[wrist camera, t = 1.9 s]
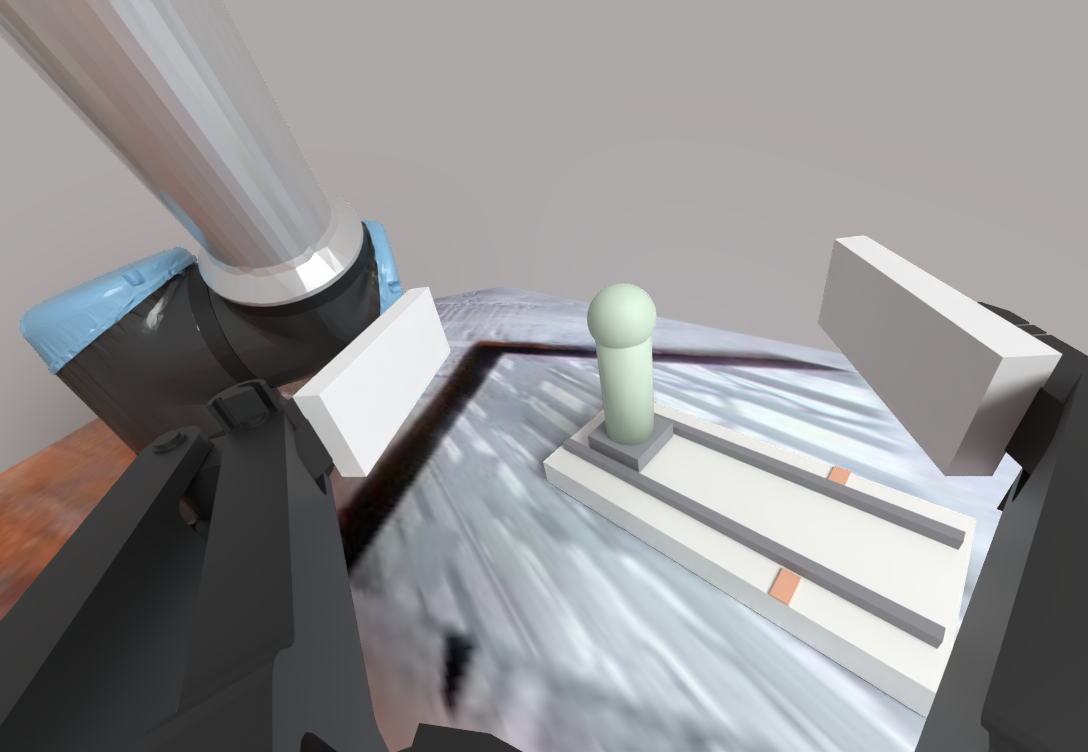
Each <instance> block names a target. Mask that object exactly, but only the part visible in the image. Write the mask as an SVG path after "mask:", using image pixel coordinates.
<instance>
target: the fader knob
mask: <svg viewBox="0 0 1088 752" xmlns="http://www.w3.org/2000/svg"><path fill="white" fill-rule="evenodd" d="M656 317H657V316H656V309H655V306H654V303H653V301H652V299H651V298H650V296H649V295H648V294H647V293H646V292H645V291H644V290H642V289H641V288H639V287H637V286H635V285H632V284H626V283H619V284H614V285H611V286H608V287H606V288H605V289H603V290H602V291H600V292H599V293H598V294H597V295H596V296H595V298H594V299H593V300H592V302H591V304H590V306H589V310H588V314H587V322H588V328H589V331H590V333H591V335H592V337H593V338H594V339H595V342H596V350H597V358H598V366H599V375H600V383H601V391H602V399H603V408H604V416H605V420H604V421H603V422H602V423H601V424H600V425H599V426H598V427H597V428H595V429H594V430H593V431H592V432H591V433H590V434H589V435H588V440H589V447H590V448H591V449H593V450H595V451H597V452H599V453H601V454H603V455H605V456H607V457H609V458H611V459H613V460H615V461H617V462H619V463H621V464H623V465H625V466H627V467H629V468H631V469H633V470H634V471H636V472H638V473H640V472H641V471H642V469H643V468H644V467H645V466H646V465H647V464H648V463H649V462H650V461H651V460H652V458H653V457H654V456H655V455H656V454H657V453H658V452H659V451H660V450H661V449H662V447H663V446H664V445H665V444H666V443H667V442H668V441H669V440H670V439H671V438H672V436H673V422H671V421H669V420H666V419H663V418H661V417H658V416H656V415H654V397H653V370H652V343H651V335H652V333H653V331H654V328H655V325H656Z"/></svg>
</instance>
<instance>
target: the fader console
mask: <svg viewBox="0 0 1088 752" xmlns="http://www.w3.org/2000/svg"><path fill="white" fill-rule="evenodd" d="M654 415H656V416H658V417H661V418H663V419H666V420H669V421H671V422H673V436H672V438H671V439H670V440H669V441H668V442H667V443H666V444H665V445H664V446H663V447H662V449H661V450H660V451H659V452H658V453H657V454H656V455H655V456H654V457H653V458H652V460H651V461H650V462H649V463H648V464H647V465H646V466H645V467H644V468H643V469H642V471H641V472H640V473H638V472H636V471H634V470H633V469H631V468H629V467H627V466H625V465H623V464H621V463H619V462H617V461H615V460H613V459H611V458H609V457H607V456H605V455H603V454H601V453H599V452H597V451H595V450H593V449H591V448H590V447H589V440H588V435H589V434H590V433H591V432H592V431H593V430H594V429H595V428H597V427H598V426H599V425H600V424H601V423H602V422H603V421H604V420H605V416H604V408H603V409H602V410H601V411H600V412H599V413H598V414H597V415H596V416H594V417H593V418H592V419H591V420H590V421H589V422H588V423H586V424H585V425H584V426H583V427H582V428H581V429H580V430H578V431H577V432H576V433H575V434H574V435H573V436H572V437H570V438H569V437H568V438H567V439H566V440H565V441H564V442H563V445H561V446H560V447H559V448H558V449H557V450H556V451H555V452H553V453H552V454H551V455H550V456H549V457H548V458H547V459H545V460H544V461H543V464H544V468H545V472H546V476H547V480H548V482H549V483H551V484H553V485H554V486H556V487H557V488H559V489H561V490H562V491H564V492H565V493H567V494H569V495H570V496H572V497H573V498H575V499H577V500H578V501H580V502H581V503H583V504H585V505H586V506H588V507H589V508H591V509H592V510H594V511H596V512H597V513H599V514H600V515H602V516H604V517H605V518H607V519H608V520H610V521H612V522H613V523H615V524H616V525H618V526H620V527H621V528H623V529H624V530H626V531H628V532H629V533H631V534H632V535H634V536H636V537H637V538H639V539H640V540H642V541H644V542H645V543H647V544H648V545H650V546H652V547H653V548H655V549H656V550H658V551H660V552H661V553H663V554H664V555H666V556H668V557H669V558H671V559H672V560H674V561H675V562H677V563H679V564H680V565H682V566H683V567H685V568H687V569H688V570H690V571H691V572H693V573H695V574H696V575H698V576H699V577H701V578H703V579H704V580H706V581H707V582H709V583H711V584H712V585H714V586H715V587H717V588H719V589H720V590H722V591H723V592H725V593H727V594H728V595H730V596H731V597H733V598H735V599H736V600H738V601H739V602H741V603H743V604H744V605H746V606H747V607H749V608H751V609H752V610H754V611H755V612H757V613H759V614H760V615H762V616H763V617H765V618H766V619H768V620H770V621H771V622H773V623H774V624H776V625H778V626H779V627H781V628H782V629H784V630H786V631H787V632H789V633H790V634H792V635H794V636H795V637H797V638H798V639H800V640H802V641H803V642H805V643H806V644H808V645H810V646H811V647H813V648H814V649H816V650H818V651H819V652H821V653H822V654H824V655H826V656H827V657H829V658H830V659H832V660H834V661H835V662H837V663H838V664H840V665H842V666H843V667H845V668H846V669H848V670H849V671H851V672H853V673H854V674H856V675H857V676H859V677H861V678H862V679H864V680H865V681H867V682H869V683H870V684H872V685H873V686H875V687H877V688H878V689H880V690H881V691H883V692H885V693H886V694H888V695H889V696H891V697H893V698H894V699H896V700H897V701H899V702H901V703H902V704H904V705H905V706H907V707H909V708H910V709H912V710H913V711H915V712H917V713H918V714H920V715H921V716H923V717H925V718H926V717H927V715H928V714H929V711H930V709H931V706H932V703H933V700H934V698H935V695H936V692H937V689H938V687H939V684H940V681H941V679H942V676H943V673H944V670H945V668H946V665H947V662H948V660H949V657H950V654H951V651H952V648H953V643H954V638H955V633H956V627H957V622H958V617H959V612H960V606H961V601H962V596H963V591H964V585H965V580H966V575H967V570H968V564H969V559H970V554H971V548H972V543H973V538H974V533H975V527H976V522H977V519H975V518H972V517H969V516H967V515H964V514H961V513H958V512H956V511H953V510H950V509H947V508H945V507H942V506H939V505H936V504H934V503H931V502H928V501H925V500H923V499H920V498H917V497H914V496H912V495H909V494H906V493H903V492H901V491H898V490H895V489H892V488H890V487H887V486H884V485H881V484H879V483H876V482H873V481H870V480H868V479H865V478H862V477H860V476H857V475H854V474H851V471H848V470H845V469H842V468H840V467H837V466H835V467H832V466H829V465H827V464H824V463H821V462H818V461H816V460H813V459H810V458H807V457H805V456H802V455H799V454H796V453H794V452H791V451H788V450H785V449H783V448H780V447H777V446H774V445H772V444H769V443H766V442H763V441H761V440H758V439H755V438H752V437H750V436H747V435H744V434H741V433H739V432H736V431H733V430H731V429H728V428H725V427H722V426H720V425H717V424H714V423H711V422H709V421H706V420H703V419H700V418H698V417H695V416H692V415H689V414H687V413H684V412H681V411H678V410H676V409H673V408H670V407H667V406H665V405H662V404H659V403H656V402H654Z"/></svg>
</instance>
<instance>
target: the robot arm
mask: <svg viewBox="0 0 1088 752" xmlns="http://www.w3.org/2000/svg"><path fill="white" fill-rule="evenodd" d="M0 36H1V37H2V38H3V39H4V40H5V41H6V42H7V43H8V44H9V45H10V46H11V47H12V48H13V49H14V50H15V52H17V54H18V55H19V56H20V57H21V58H22V59H23V60H24V61H25V62H26V63H27V64H28V65H29V66H30V67H31V68H32V69H33V70H34V71H35V72H36V73H37V74H38V75H39V76H40V78H42V80H43V81H44V82H45V83H46V84H47V85H48V86H49V87H50V88H51V89H52V90H53V91H54V92H55V93H56V94H57V95H58V96H59V97H60V98H61V99H62V101H63V102H65V103H66V105H67V106H68V107H69V108H70V109H71V110H72V111H73V112H74V113H75V114H76V115H77V116H78V117H79V118H80V119H81V120H82V121H83V122H84V123H85V124H86V125H87V127H88V128H89V129H90V130H91V131H92V132H93V133H94V134H95V135H96V136H97V137H98V138H99V139H100V140H101V141H102V142H103V143H104V144H105V145H106V146H107V147H108V148H109V150H111V152H112V153H113V154H114V155H115V156H116V157H117V158H118V159H119V160H120V161H121V162H122V163H123V164H124V165H125V166H126V167H127V168H128V169H129V170H130V171H131V172H132V173H133V175H134V176H135V177H136V178H137V179H138V180H139V181H140V182H141V183H142V184H143V185H144V186H145V187H146V188H147V189H148V190H149V191H150V192H151V193H152V194H153V195H154V196H155V197H156V199H157V200H158V201H159V202H161V204H162V205H163V206H164V207H165V208H166V209H167V210H168V211H169V212H170V213H171V214H172V215H173V216H174V217H175V218H176V219H177V220H178V221H179V222H180V223H181V224H182V226H183V227H184V228H185V229H186V230H187V231H188V232H189V233H190V234H191V235H192V236H193V237H194V238H195V239H196V240H197V241H198V242H199V243H200V244H201V246H200V249H199V254H198V263H197V262H196V261H197V259H196V257H195V256H194V255H192V254H191V253H190V252H188V251H187V250H186V249H184V248H180V247H176V248H174V249H172V250H167V251H163V252H160V253H157V254H155V255H152V256H149V257H146V258H144V259H141V260H139V261H136V262H133V263H131V264H128V265H126V266H123V267H121V268H118V269H116V270H113V271H111V272H108V273H106V274H104V275H101V276H99V277H96V278H94V279H92V280H89V281H87V282H85V283H82V284H80V285H78V286H75V287H73V288H71V289H69V290H66V291H64V292H62V293H60V294H57V295H55V296H53V297H51V298H49V299H47V300H45V301H43V302H41V303H39V304H37V305H35V306H34V307H32V308H30V309H29V310H28V311H27V312H26V313H25V314H24V315H23V317H22V319H21V321H20V330H21V332H22V334H23V336H24V338H25V339H26V340H27V341H28V342H29V343H30V344H31V346H32V347H33V348H34V349H35V351H36V352H37V353H38V354H39V355H40V357H41V358H42V359H43V360H44V362H45V363H46V364H47V365H48V366H49V369H48V370H49V371H50V373H52V374H53V375H57V376H58V377H59V378H60V379H61V380H62V381H63V382H64V383H65V384H66V385H67V386H68V387H69V388H70V389H71V390H72V391H73V392H74V393H75V394H76V395H77V396H78V397H79V398H80V399H81V400H82V401H83V402H84V403H85V404H86V405H87V406H88V407H89V408H90V409H91V410H92V411H93V412H94V413H95V414H96V415H97V416H98V417H99V418H100V419H101V420H102V421H103V422H104V423H105V424H106V425H107V426H108V427H109V428H110V429H111V430H112V431H113V432H114V433H115V434H116V435H117V436H118V437H119V438H120V439H121V440H122V441H123V442H124V443H125V444H126V445H127V446H128V447H129V448H130V449H131V450H132V451H133V452H135V454H136V455H137V457H136V459H135V460H134V461H133V462H132V463H131V465H130V466H129V467H128V468H127V469H126V471H125V472H124V473H123V474H122V475H121V477H120V478H119V479H118V480H117V481H116V483H115V484H114V485H113V486H112V487H111V489H110V490H109V491H108V492H107V494H106V495H105V496H104V497H103V498H102V500H101V501H100V502H99V503H98V504H97V506H96V507H95V508H94V509H93V510H92V512H91V513H90V514H89V515H88V516H87V518H86V519H85V520H84V521H83V523H82V524H81V525H80V526H79V527H78V529H77V530H76V531H75V532H74V533H73V535H72V536H71V537H70V538H69V539H68V541H67V542H66V543H65V544H64V545H63V547H62V548H61V549H60V550H59V552H58V553H57V554H56V555H55V556H54V558H53V559H52V560H51V561H50V562H49V564H48V565H47V566H46V567H45V568H44V570H43V571H42V572H41V573H40V574H39V576H38V577H37V578H36V579H35V580H34V582H33V583H32V584H31V585H30V587H29V588H28V589H27V590H26V591H25V593H24V594H23V595H22V596H21V597H20V599H19V600H18V601H17V602H16V603H15V605H14V606H13V607H12V608H11V609H10V611H9V612H8V613H7V614H6V616H5V617H4V618H3V619H2V620H1V622H0V752H389V751H388V748H387V746H386V744H385V742H384V740H383V738H382V736H381V734H380V732H379V730H378V727H377V724H376V721H375V717H374V713H373V708H372V702H371V697H370V692H369V686H368V681H367V675H366V670H365V665H364V659H363V654H362V648H361V643H360V637H359V632H358V627H357V621H356V616H355V610H354V605H353V600H352V594H351V589H350V583H349V578H348V573H347V567H346V562H345V556H344V551H343V545H342V540H341V535H340V529H339V524H338V518H337V513H336V508H335V502H334V497H333V491H332V486H331V481H330V479H329V478H328V476H329V474H330V473H331V471H332V469H333V467H334V464H335V466H336V467H337V469H338V471H339V472H340V474H341V475H342V477H367V475H368V474H369V472H370V471H371V469H372V468H373V466H374V465H375V463H376V462H377V460H378V459H379V458H380V456H381V455H382V453H383V452H384V450H385V449H386V447H387V446H388V444H389V443H390V441H391V440H392V438H393V437H394V435H395V434H396V432H397V431H398V429H399V428H400V426H401V425H402V423H403V422H404V420H405V419H406V417H407V416H408V414H409V413H410V411H411V410H412V408H413V407H414V405H415V404H416V402H417V401H418V399H419V398H420V397H421V395H422V394H423V392H424V391H425V389H426V388H427V386H428V385H429V383H430V382H431V380H432V379H433V377H434V376H435V374H436V373H437V371H438V370H439V368H440V367H441V365H442V364H443V362H444V361H445V359H446V358H447V356H448V355H449V353H450V352H451V351H450V348H449V345H448V342H447V339H446V337H445V334H444V331H443V328H442V325H441V322H440V319H439V316H438V313H437V310H436V308H435V305H434V302H433V299H432V296H431V293H430V290H429V287H424V288H415V289H409V290H408V291H407V292H406V293H405V294H404V295H403V291H402V288H401V286H400V280H399V277H398V272H397V268H396V264H395V261H394V257H393V254H392V250H391V247H390V244H389V241H388V237H387V234H386V231H385V229H384V227H383V225H382V224H381V223H379V222H378V221H368V220H364V221H360V219H359V217H358V215H357V214H356V212H355V211H354V209H353V208H352V207H351V205H349V204H348V203H347V202H346V201H345V200H343V199H341V198H339V197H338V196H336V195H333V194H331V193H328V192H324V191H322V189H321V187H320V185H319V183H318V181H317V180H316V178H315V176H314V174H313V172H312V170H311V168H310V166H309V164H308V163H307V161H306V159H305V157H304V155H303V153H302V151H301V149H300V147H299V145H298V143H297V142H296V140H295V138H294V136H293V134H292V132H291V130H290V128H289V126H288V124H287V122H286V120H285V119H284V117H283V115H282V113H281V111H280V109H279V107H278V105H277V103H276V101H275V100H274V98H273V96H272V94H271V92H270V90H269V88H268V86H267V84H266V82H265V81H264V79H263V77H262V75H261V73H260V71H259V69H258V67H257V66H256V63H255V61H254V60H253V58H252V56H251V54H250V52H249V50H248V48H247V46H246V44H245V43H244V41H243V39H242V37H241V35H240V33H239V31H238V29H237V27H236V25H235V24H234V22H233V20H232V18H231V16H230V14H229V12H228V10H227V8H226V6H225V4H224V2H223V1H222V0H0ZM818 324H819V325H820V326H821V327H822V329H823V330H824V331H825V332H826V333H827V335H828V336H829V337H830V338H831V339H832V341H833V342H834V343H835V344H836V345H837V347H838V348H839V349H840V350H841V352H842V353H843V354H844V355H845V356H846V358H847V359H848V360H849V361H850V362H851V364H852V365H853V366H854V367H855V368H856V370H857V371H858V372H859V373H860V374H861V376H862V377H863V378H864V379H865V380H866V382H867V383H868V384H869V385H870V386H871V388H872V389H873V390H874V391H875V392H876V394H877V395H878V396H879V397H880V398H881V400H882V401H883V402H884V403H885V404H886V406H887V407H888V408H889V409H890V410H891V412H892V413H893V414H894V415H895V416H896V418H897V419H898V420H899V421H900V423H901V424H902V425H903V426H904V427H905V429H906V430H907V431H908V432H909V433H910V435H911V436H912V437H913V438H914V439H915V441H916V442H917V443H918V444H919V445H920V447H921V448H922V449H923V450H924V451H925V453H926V454H927V455H928V456H929V457H930V459H931V460H932V461H933V462H934V463H935V465H936V466H937V467H938V468H939V469H940V471H941V472H942V473H943V474H944V475H945V476H992V475H993V474H994V472H995V470H996V468H997V467H998V465H999V463H1000V462H1001V460H1002V458H1003V456H1004V455H1005V453H1006V452H1007V453H1008V454H1009V455H1010V456H1011V457H1012V458H1013V459H1014V460H1015V461H1016V462H1017V463H1018V464H1019V465H1020V466H1022V467H1023V468H1022V469H1021V471H1020V473H1019V474H1018V476H1017V477H1016V479H1015V481H1014V482H1013V484H1012V485H1011V487H1010V489H1009V490H1008V492H1007V493H1006V495H1005V497H1004V498H1003V500H1002V501H1001V503H1000V505H999V506H998V508H997V509H998V510H1001V511H1003V512H1002V515H1001V518H1000V521H999V523H998V526H997V529H996V531H995V534H994V537H993V540H992V542H991V545H990V548H989V551H988V553H987V556H986V559H985V561H984V564H983V567H982V570H981V572H980V575H979V578H978V581H977V583H976V586H975V589H974V591H973V594H972V597H971V600H970V602H969V605H968V608H967V610H966V613H965V616H964V619H963V621H962V624H961V627H960V630H959V632H958V635H957V638H956V640H955V643H954V646H953V649H952V651H951V654H950V657H949V660H948V662H947V665H946V668H945V670H944V673H943V676H942V679H941V681H940V684H939V687H938V689H937V692H936V695H935V698H934V700H933V703H932V706H931V709H930V711H929V714H928V717H927V719H926V722H925V725H924V728H923V730H922V733H921V736H920V739H919V741H918V744H917V747H916V749H915V752H1088V356H1087V355H1085V354H1083V353H1082V352H1080V351H1078V350H1076V349H1075V348H1073V347H1071V346H1069V345H1068V344H1066V343H1064V342H1062V341H1061V340H1059V339H1057V338H1056V337H1054V336H1052V335H1046V332H1045V331H1043V330H1041V329H1040V328H1038V327H1036V326H1035V325H1029V322H1028V321H1026V320H1024V319H1022V318H1021V317H1019V316H1017V315H1015V314H1014V313H1012V312H1010V311H1008V310H1004V309H1001V308H998V307H995V306H992V305H988V304H985V303H982V302H974V301H973V300H972V299H970V298H968V297H966V296H965V295H963V294H961V293H960V292H958V291H957V290H955V289H953V288H951V287H950V286H948V285H947V284H945V283H943V282H941V281H940V280H938V279H936V278H935V277H933V276H932V275H930V274H928V273H927V272H925V271H923V270H922V269H920V268H918V267H916V266H915V265H913V264H912V263H910V262H908V261H907V260H905V259H903V258H902V257H900V256H898V255H897V254H895V253H893V252H892V251H890V250H888V249H886V248H885V247H883V246H882V245H880V244H878V243H877V242H875V241H873V240H871V239H870V238H868V237H867V236H865V235H864V236H855V237H847V238H839V239H835V240H834V245H833V250H832V255H831V261H830V265H829V270H828V275H827V280H826V286H825V290H824V295H823V301H822V305H821V311H820V315H819V320H818ZM312 376H314V377H313V378H312V379H311V380H310V381H309V382H308V383H307V384H306V385H304V386H303V387H302V388H301V389H300V390H299V391H298V392H297V393H296V394H295V395H293V396H292V398H291V399H290V400H289V401H288V400H286V399H285V398H284V397H283V396H282V395H281V393H280V392H279V390H278V389H277V387H280V386H282V385H285V384H289V383H292V382H296V381H299V380H302V379H306V378H309V377H312ZM177 707H178V708H177ZM176 710H177V711H176ZM398 752H522V751H520V750H518V749H517V748H515V747H513V746H511V745H509V744H508V743H506V742H504V741H502V740H500V739H498V738H497V737H495V736H493V735H491V734H488V733H482V732H475V731H468V730H462V729H455V728H449V727H442V726H435V725H429V724H422V723H419V726H418V729H417V732H416V735H415V738H414V741H413V744H412V747H409V748H406V749H403V750H400V751H398Z"/></svg>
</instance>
